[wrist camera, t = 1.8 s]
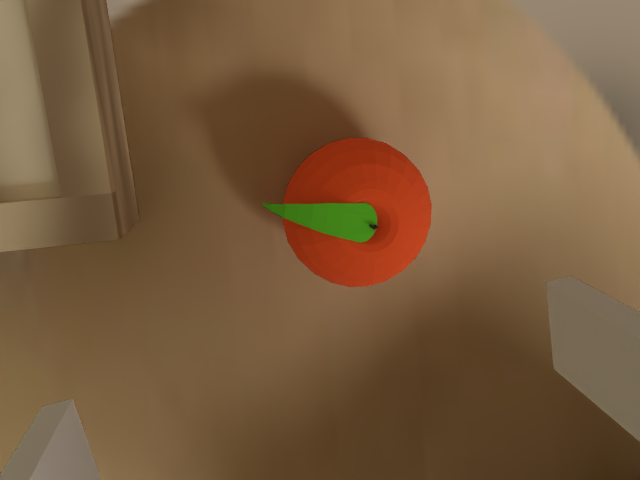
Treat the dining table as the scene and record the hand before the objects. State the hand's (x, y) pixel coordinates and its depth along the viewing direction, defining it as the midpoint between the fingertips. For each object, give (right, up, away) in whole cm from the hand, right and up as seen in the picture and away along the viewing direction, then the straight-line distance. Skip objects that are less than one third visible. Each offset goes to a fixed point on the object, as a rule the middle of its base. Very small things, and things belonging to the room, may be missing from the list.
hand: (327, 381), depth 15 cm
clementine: (0, +6, +15) cm, 16 cm away
